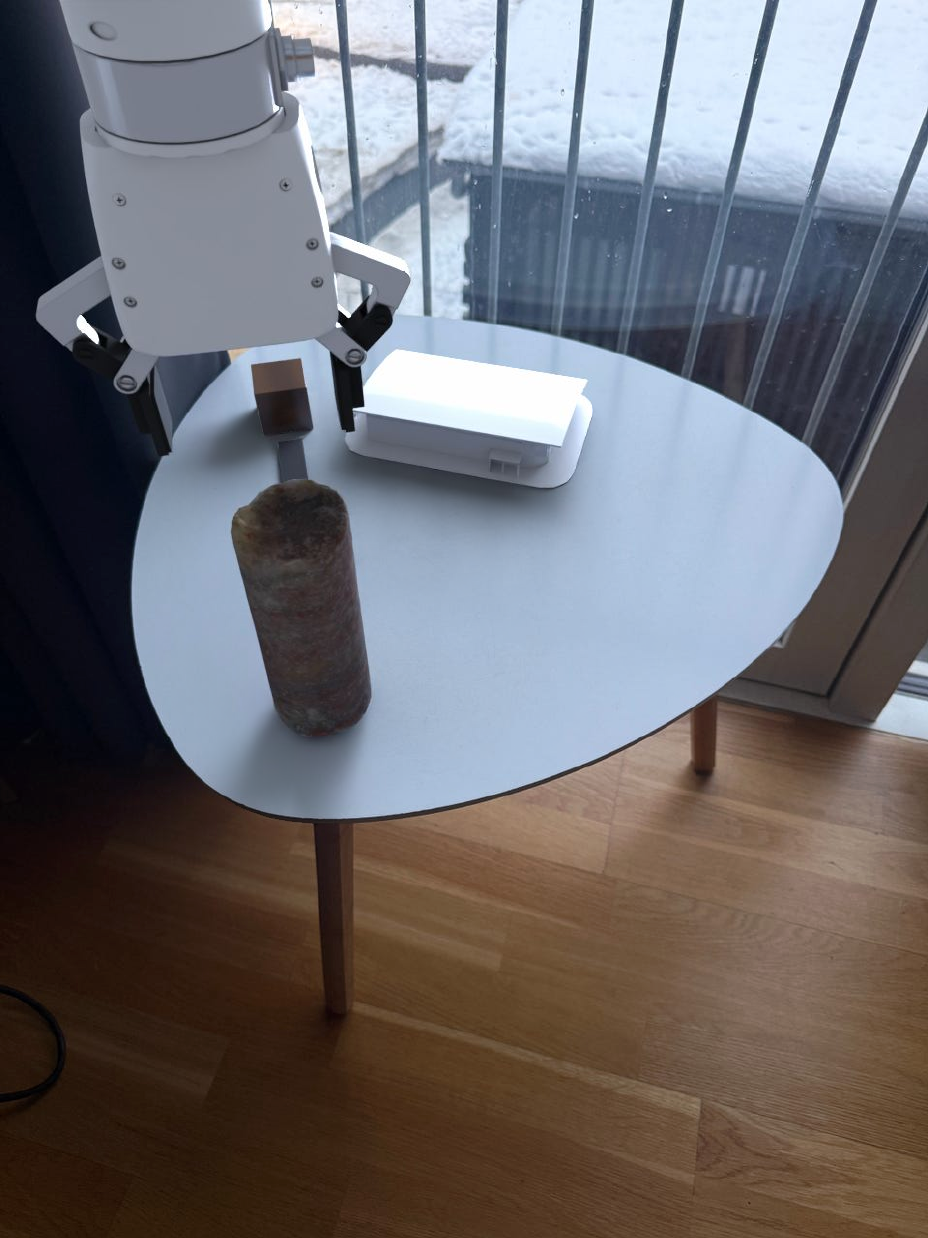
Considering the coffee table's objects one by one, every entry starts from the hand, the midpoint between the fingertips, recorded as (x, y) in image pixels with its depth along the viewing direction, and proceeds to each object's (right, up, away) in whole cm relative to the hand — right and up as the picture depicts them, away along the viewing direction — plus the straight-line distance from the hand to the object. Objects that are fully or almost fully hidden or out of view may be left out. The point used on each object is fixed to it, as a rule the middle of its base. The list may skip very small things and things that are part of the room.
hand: (256, 428), depth 49 cm
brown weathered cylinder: (+1, -17, +20) cm, 27 cm away
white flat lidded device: (+12, +9, +42) cm, 45 cm away
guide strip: (-3, -3, +32) cm, 32 cm away
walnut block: (-7, +10, +43) cm, 45 cm away
